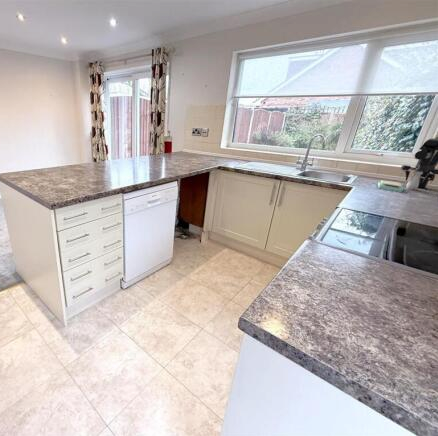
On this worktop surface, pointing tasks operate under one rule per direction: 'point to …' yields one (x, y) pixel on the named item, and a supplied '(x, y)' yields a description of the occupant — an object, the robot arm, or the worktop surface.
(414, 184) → the salt shaker
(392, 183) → the scale platform
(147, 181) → the worktop surface
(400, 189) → the scale
